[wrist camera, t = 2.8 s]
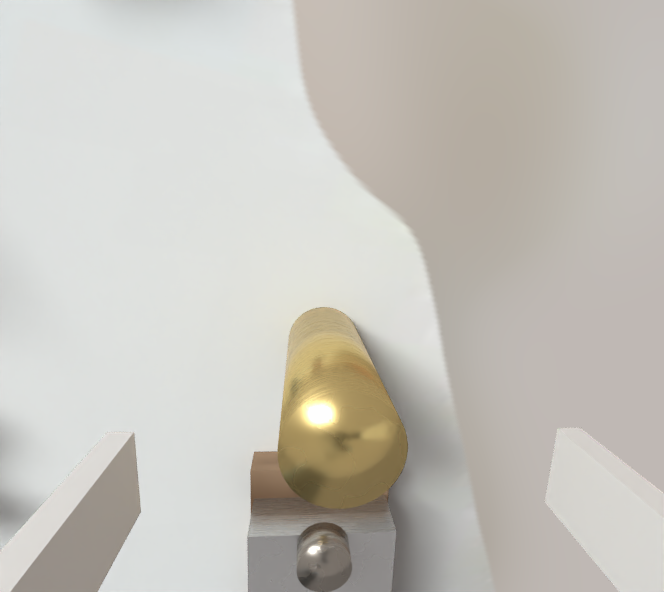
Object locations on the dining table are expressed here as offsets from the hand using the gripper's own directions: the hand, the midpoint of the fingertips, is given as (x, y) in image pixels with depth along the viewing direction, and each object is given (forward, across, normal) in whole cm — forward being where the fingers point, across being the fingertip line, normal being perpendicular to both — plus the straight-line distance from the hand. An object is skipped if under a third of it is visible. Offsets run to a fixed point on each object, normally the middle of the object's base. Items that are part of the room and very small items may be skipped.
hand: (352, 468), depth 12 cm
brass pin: (+13, 0, 0) cm, 13 cm away
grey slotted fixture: (+11, 0, +19) cm, 22 cm away
